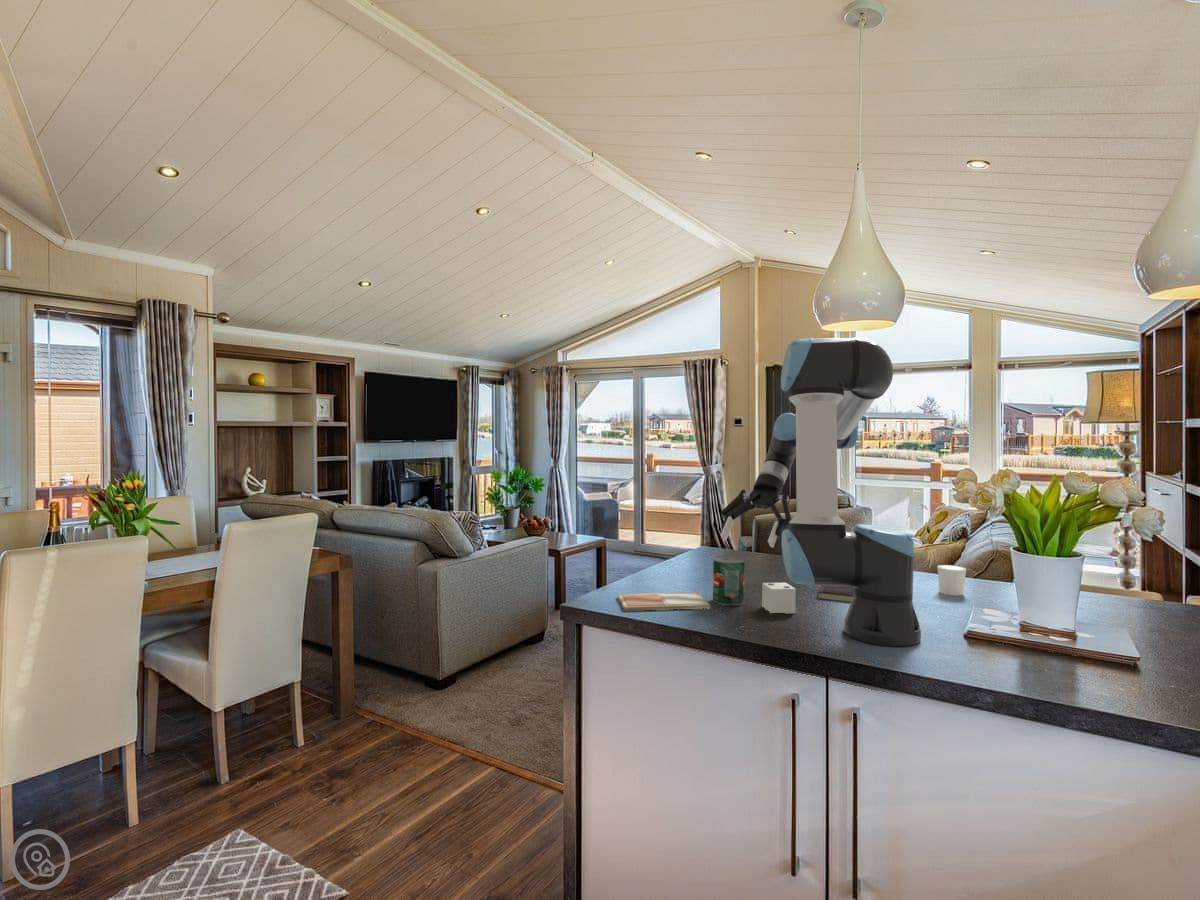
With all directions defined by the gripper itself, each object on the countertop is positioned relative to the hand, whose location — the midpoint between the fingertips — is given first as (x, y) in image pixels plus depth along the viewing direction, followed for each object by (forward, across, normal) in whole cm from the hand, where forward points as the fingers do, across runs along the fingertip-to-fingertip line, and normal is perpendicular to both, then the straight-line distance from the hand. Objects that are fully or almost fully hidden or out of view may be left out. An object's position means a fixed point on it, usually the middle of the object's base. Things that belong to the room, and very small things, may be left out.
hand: (746, 541), depth 170 cm
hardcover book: (-4, -21, -25) cm, 34 cm away
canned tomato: (+17, 0, -3) cm, 17 cm away
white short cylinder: (-16, -42, -36) cm, 58 cm away
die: (+16, -13, -4) cm, 21 cm away
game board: (+26, +12, +6) cm, 29 cm away
